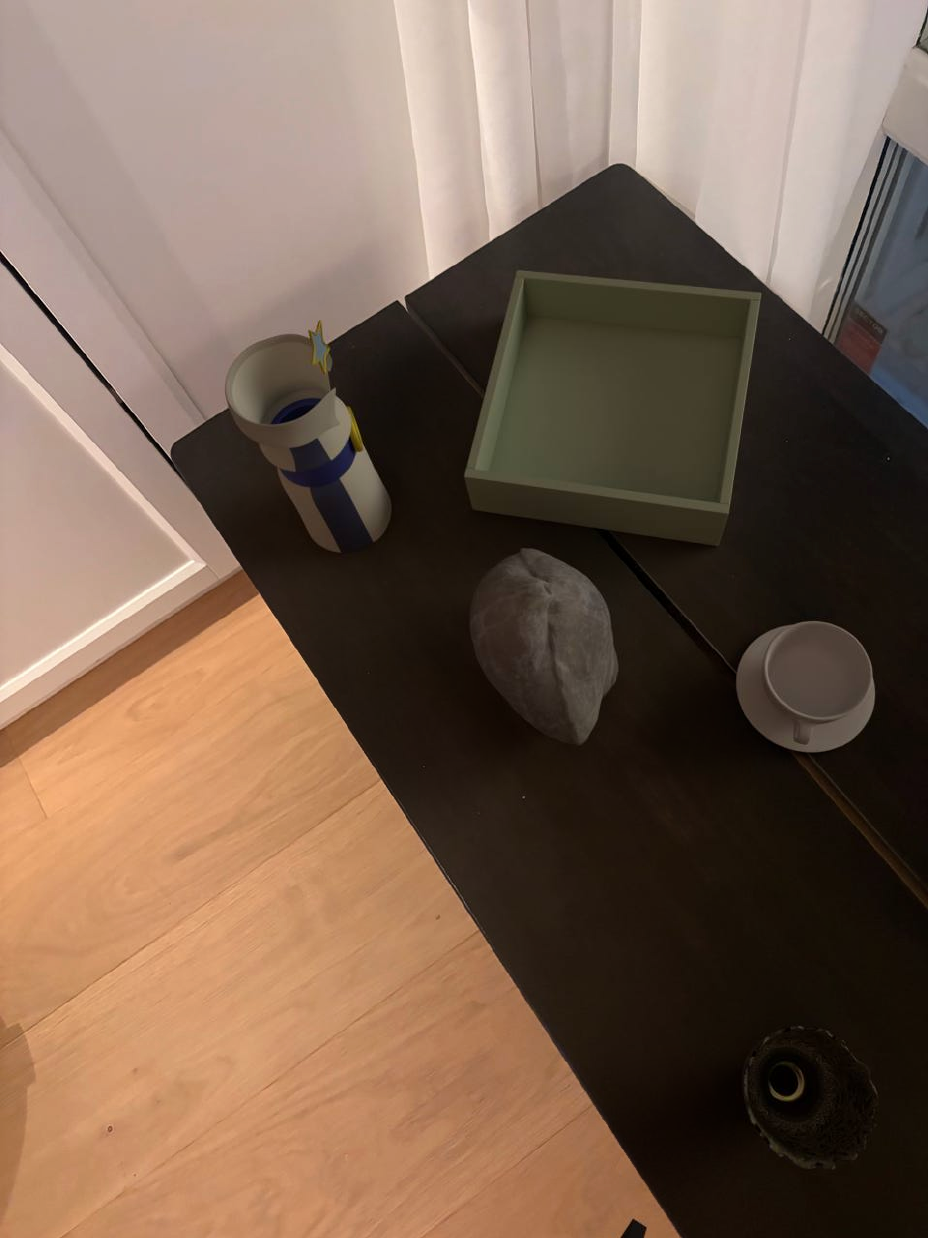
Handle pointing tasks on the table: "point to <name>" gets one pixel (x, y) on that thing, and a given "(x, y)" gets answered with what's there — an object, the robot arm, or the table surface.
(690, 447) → the bin
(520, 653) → the decorative stone
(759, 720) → the teacup
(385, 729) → the table surface
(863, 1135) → the dark brown hollow vessel
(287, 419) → the white blue vase
